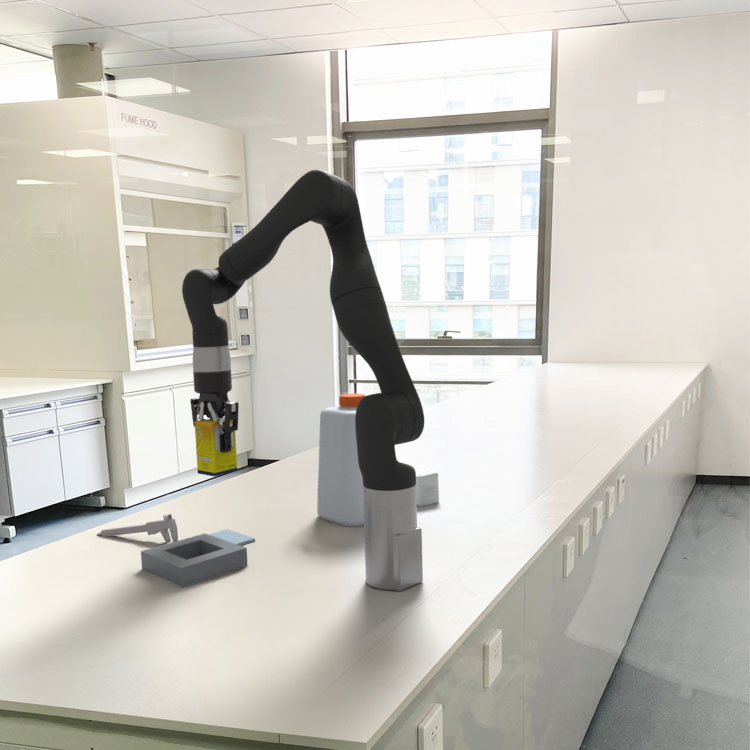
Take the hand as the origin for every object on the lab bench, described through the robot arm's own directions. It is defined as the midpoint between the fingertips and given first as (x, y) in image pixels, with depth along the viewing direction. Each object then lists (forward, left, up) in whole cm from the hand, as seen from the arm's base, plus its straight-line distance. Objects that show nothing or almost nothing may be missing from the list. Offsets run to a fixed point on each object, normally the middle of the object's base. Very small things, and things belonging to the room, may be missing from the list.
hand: (216, 449), depth 155 cm
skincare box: (-12, -50, -20) cm, 55 cm away
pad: (0, 0, -20) cm, 20 cm away
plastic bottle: (-8, -31, -20) cm, 38 cm away
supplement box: (0, 0, -5) cm, 5 cm away
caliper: (+16, +10, -20) cm, 28 cm away
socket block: (-9, +12, -20) cm, 25 cm away
